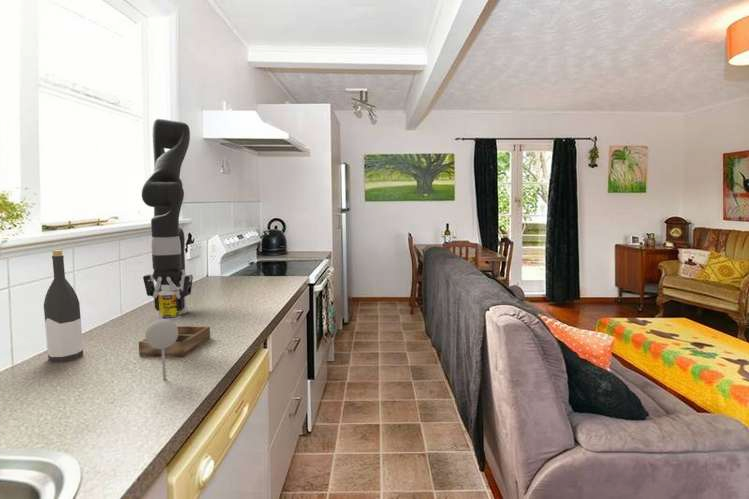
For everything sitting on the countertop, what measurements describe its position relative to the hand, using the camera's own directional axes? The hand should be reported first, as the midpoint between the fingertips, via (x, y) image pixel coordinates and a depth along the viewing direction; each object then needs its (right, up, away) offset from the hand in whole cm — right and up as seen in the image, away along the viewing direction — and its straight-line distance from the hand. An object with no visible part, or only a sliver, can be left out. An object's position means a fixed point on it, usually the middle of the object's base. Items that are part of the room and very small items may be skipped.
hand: (169, 310), depth 124 cm
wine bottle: (-27, -13, -5) cm, 30 cm away
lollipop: (+8, -14, -20) cm, 26 cm away
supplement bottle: (0, -3, 0) cm, 3 cm away
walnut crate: (0, -12, +4) cm, 12 cm away
